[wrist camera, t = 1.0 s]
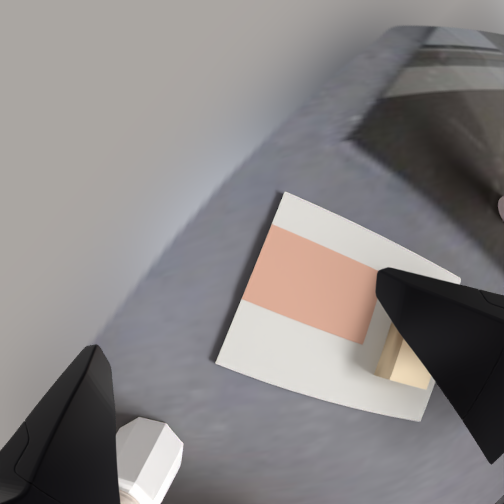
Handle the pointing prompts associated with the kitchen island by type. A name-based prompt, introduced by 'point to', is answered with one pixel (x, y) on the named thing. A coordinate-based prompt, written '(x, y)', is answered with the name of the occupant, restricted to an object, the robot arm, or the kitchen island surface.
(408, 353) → the wooden block
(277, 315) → the mat
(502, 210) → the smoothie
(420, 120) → the kitchen island surface
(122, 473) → the pepper shaker
